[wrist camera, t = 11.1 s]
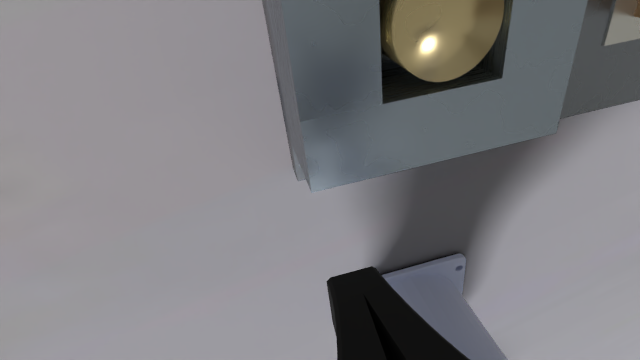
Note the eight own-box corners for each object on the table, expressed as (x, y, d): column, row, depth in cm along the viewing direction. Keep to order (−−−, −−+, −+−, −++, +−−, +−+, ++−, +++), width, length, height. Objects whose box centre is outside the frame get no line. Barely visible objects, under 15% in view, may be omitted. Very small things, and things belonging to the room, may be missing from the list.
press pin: (446, 47, 16) (496, 70, 13) (361, 64, 15) (395, 91, 13) (452, -56, 14) (512, -54, 11) (355, -40, 13) (394, -34, 11)
